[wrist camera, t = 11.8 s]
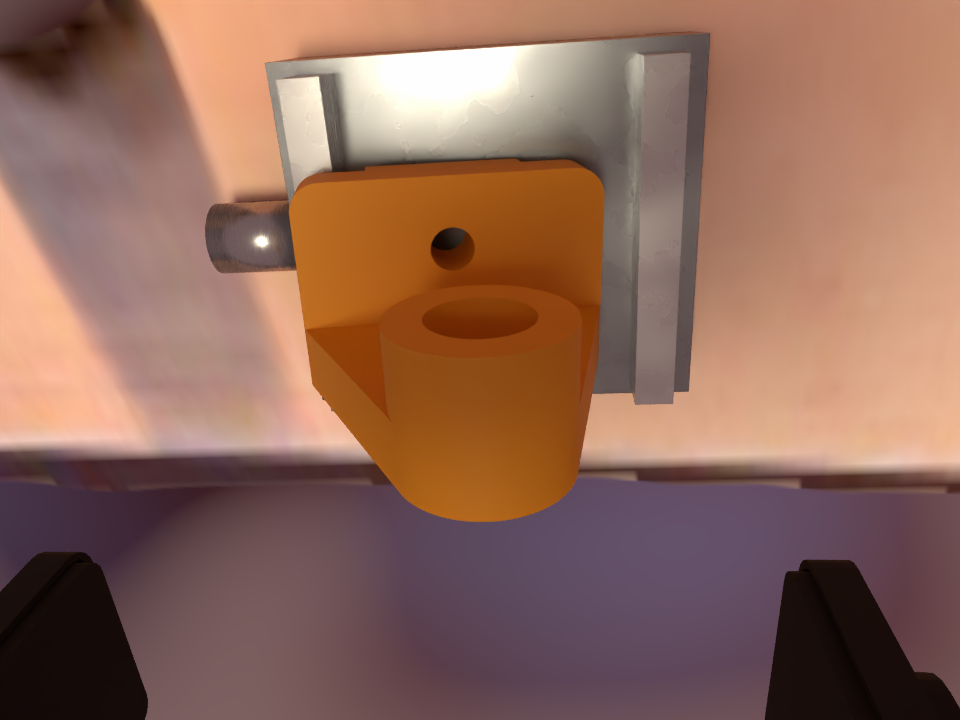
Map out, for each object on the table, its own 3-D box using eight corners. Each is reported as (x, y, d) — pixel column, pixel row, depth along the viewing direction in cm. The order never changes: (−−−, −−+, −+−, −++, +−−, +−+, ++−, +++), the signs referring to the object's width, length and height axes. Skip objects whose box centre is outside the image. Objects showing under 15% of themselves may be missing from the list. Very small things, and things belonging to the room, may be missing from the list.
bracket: (584, 154, 28) (727, 232, 17) (579, 333, 31) (698, 498, 20) (292, 170, 26) (242, 266, 16) (316, 355, 29) (289, 545, 18)
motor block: (688, 31, 29) (723, 33, 24) (673, 353, 35) (698, 414, 30) (205, 64, 31) (134, 73, 26) (266, 364, 37) (218, 423, 31)
